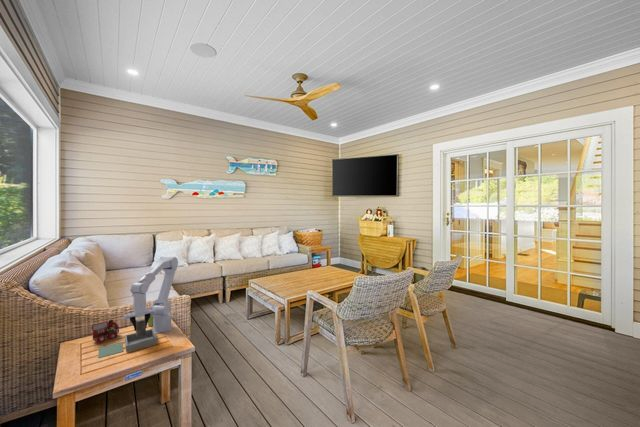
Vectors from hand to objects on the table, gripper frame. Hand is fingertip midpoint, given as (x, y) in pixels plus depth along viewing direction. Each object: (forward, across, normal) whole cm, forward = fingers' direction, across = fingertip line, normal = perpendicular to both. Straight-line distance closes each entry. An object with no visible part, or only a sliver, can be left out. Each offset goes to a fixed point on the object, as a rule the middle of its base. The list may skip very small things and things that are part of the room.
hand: (140, 329), depth 151 cm
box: (+2, 0, 0) cm, 2 cm away
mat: (+8, -13, 0) cm, 15 cm away
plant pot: (+8, +9, +23) cm, 26 cm away
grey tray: (+8, 0, 0) cm, 8 cm away
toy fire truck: (+8, -15, +17) cm, 24 cm away
